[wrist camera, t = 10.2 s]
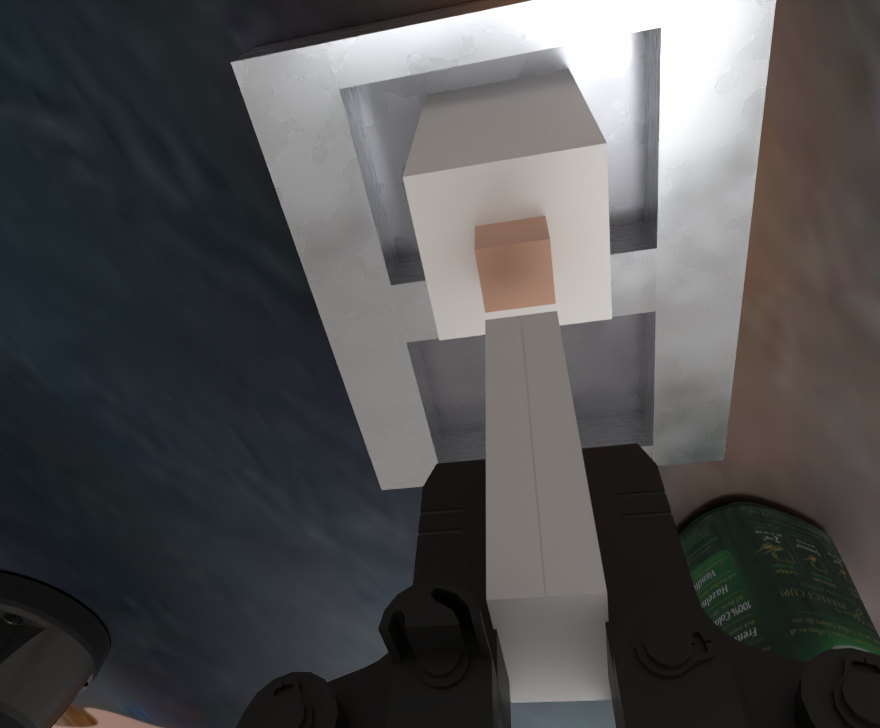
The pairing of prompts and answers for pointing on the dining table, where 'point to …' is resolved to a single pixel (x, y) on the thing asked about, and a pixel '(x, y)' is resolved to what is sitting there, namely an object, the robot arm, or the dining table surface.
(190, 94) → the dining table surface
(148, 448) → the dining table surface
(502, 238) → the white rectangular block
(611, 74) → the socket plate
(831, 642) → the coffee jar
